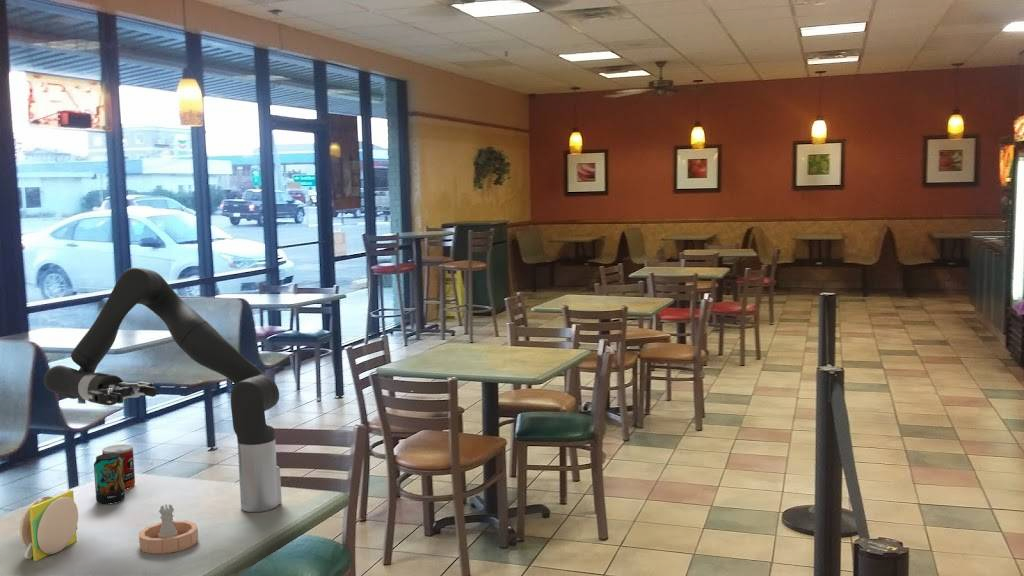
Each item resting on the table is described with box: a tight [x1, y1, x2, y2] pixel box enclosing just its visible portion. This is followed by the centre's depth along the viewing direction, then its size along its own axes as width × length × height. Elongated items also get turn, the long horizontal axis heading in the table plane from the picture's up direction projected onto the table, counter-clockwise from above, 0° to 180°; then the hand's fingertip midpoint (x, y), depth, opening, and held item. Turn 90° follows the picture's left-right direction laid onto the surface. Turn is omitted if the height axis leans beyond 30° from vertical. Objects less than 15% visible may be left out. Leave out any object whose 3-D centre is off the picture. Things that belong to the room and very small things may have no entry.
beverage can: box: [93, 453, 126, 505], centre depth 241 cm, size 7×7×12 cm
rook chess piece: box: [158, 504, 178, 538], centre depth 209 cm, size 4×4×8 cm
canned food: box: [101, 443, 136, 490], centre depth 253 cm, size 8×8×11 cm
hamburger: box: [19, 490, 79, 562], centre depth 207 cm, size 12×8×12 cm
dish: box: [138, 520, 199, 555], centre depth 210 cm, size 12×12×3 cm
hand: (138, 395), depth 219 cm, fingers open, 8 cm apart
